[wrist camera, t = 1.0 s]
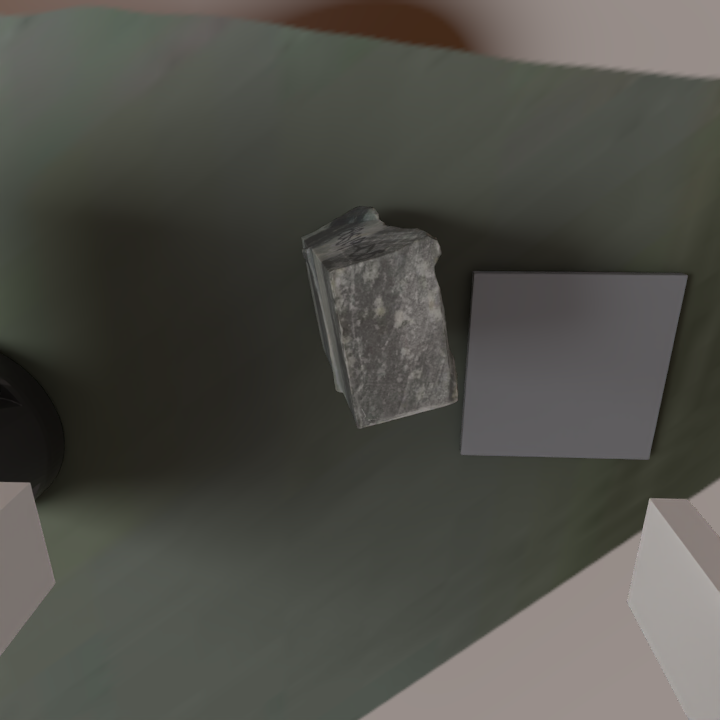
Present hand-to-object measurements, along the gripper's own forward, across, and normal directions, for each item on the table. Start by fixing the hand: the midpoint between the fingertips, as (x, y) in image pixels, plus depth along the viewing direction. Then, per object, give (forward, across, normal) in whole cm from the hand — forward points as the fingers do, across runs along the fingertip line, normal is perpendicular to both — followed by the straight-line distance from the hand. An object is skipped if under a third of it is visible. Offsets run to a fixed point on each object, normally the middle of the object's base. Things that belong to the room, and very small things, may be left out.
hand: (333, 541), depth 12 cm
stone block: (+29, 0, 0) cm, 29 cm away
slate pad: (+28, +14, -7) cm, 32 cm away
